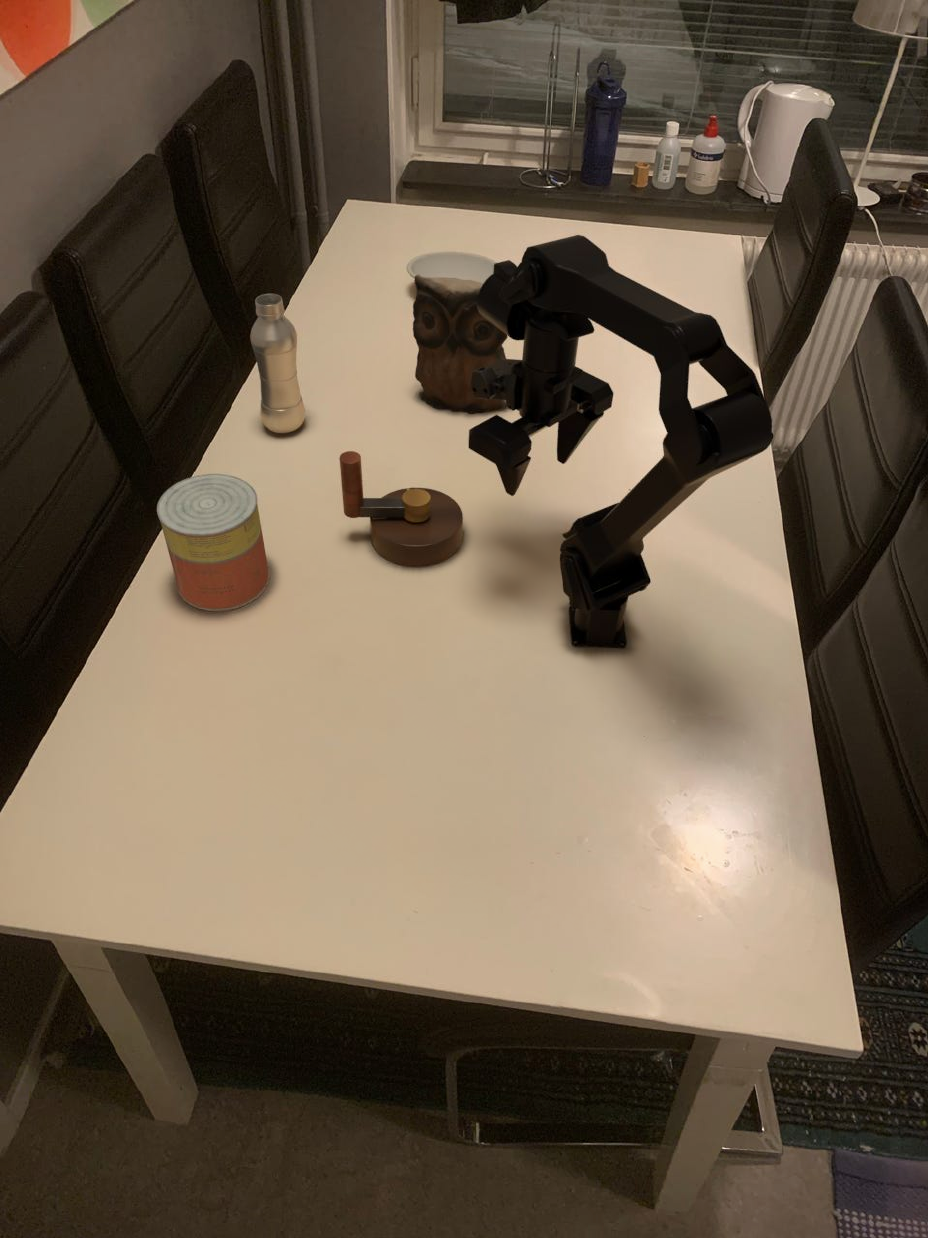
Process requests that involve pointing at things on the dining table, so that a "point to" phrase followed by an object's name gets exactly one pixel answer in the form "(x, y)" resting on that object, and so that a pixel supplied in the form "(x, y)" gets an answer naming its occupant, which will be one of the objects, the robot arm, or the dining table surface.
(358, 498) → the crank handle
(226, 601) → the canned food
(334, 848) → the dining table surface
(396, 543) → the crank base
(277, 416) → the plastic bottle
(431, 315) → the owl
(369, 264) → the dining table surface
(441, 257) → the dish
